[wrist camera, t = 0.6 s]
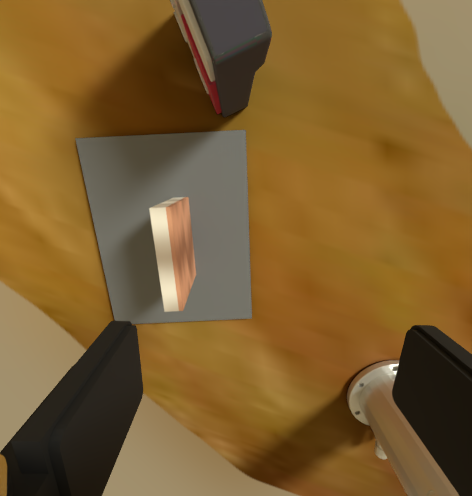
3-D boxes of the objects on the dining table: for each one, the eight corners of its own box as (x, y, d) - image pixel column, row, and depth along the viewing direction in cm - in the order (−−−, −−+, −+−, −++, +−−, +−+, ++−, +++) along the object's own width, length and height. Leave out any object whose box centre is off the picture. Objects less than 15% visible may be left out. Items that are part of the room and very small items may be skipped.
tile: (196, 274, 33) (183, 310, 24) (182, 274, 33) (164, 311, 24) (188, 196, 30) (170, 207, 21) (173, 197, 30) (149, 208, 21)
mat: (251, 315, 36) (251, 318, 35) (118, 321, 36) (115, 324, 35) (245, 131, 29) (245, 129, 28) (79, 139, 29) (75, 138, 28)
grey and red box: (172, 11, 25) (93, -197, 11) (211, -10, 25) (181, -256, 11) (217, 121, 28) (201, 70, 14) (252, 105, 28) (273, 34, 14)
